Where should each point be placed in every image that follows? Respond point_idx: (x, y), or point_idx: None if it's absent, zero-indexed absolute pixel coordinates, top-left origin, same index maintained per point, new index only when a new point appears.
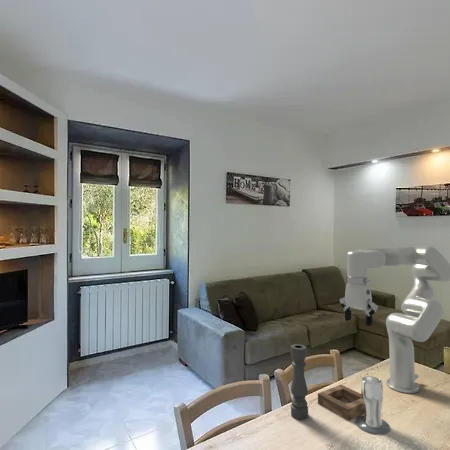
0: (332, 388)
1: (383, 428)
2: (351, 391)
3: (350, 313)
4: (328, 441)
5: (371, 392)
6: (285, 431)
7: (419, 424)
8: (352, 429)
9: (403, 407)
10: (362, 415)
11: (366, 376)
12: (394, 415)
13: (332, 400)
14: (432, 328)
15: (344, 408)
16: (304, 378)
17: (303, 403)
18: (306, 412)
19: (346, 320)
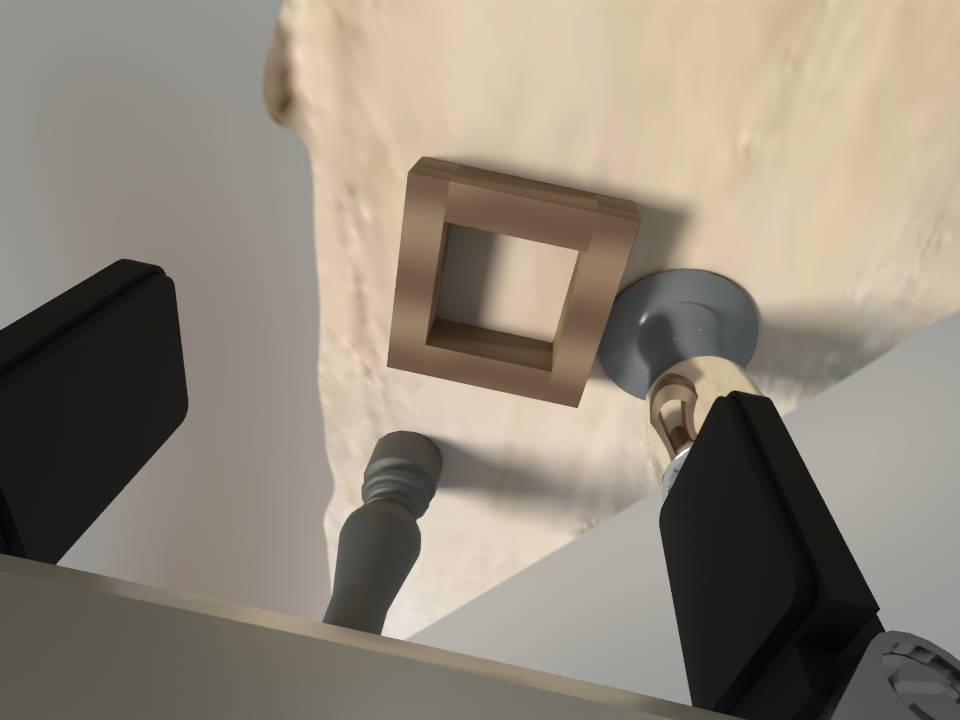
0: (403, 263)
1: (730, 343)
2: (504, 218)
3: (57, 385)
4: (574, 519)
5: None
6: (439, 549)
7: (900, 169)
8: (614, 417)
9: (800, 15)
10: (615, 306)
11: (681, 458)
12: (758, 172)
13: (480, 381)
14: None
15: (556, 401)
16: (390, 589)
17: (421, 512)
18: (437, 479)
19: (178, 408)
